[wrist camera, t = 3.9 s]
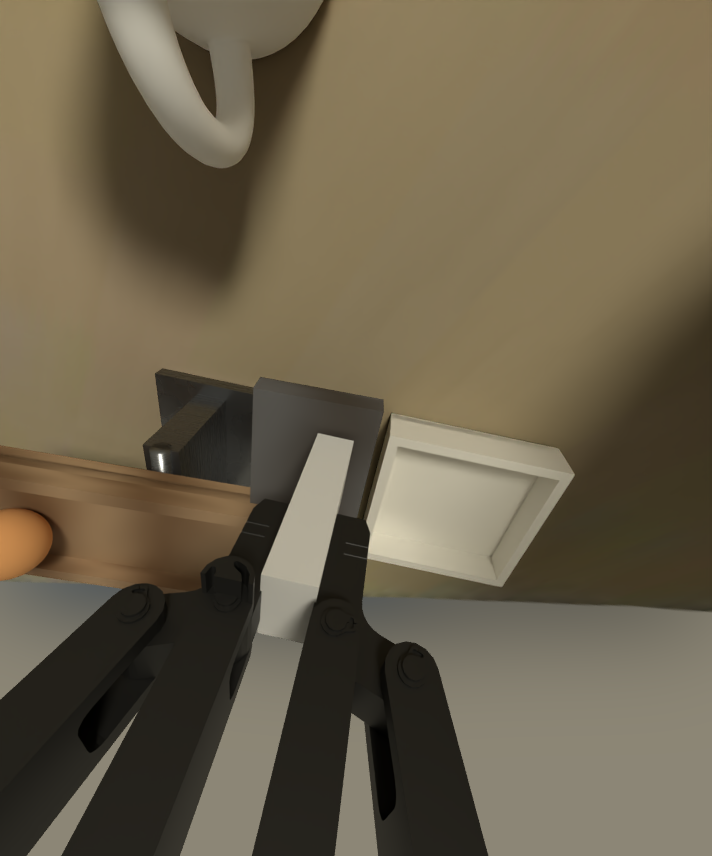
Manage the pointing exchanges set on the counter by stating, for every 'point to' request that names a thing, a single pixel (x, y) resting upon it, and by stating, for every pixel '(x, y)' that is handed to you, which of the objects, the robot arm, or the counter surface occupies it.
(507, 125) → the counter surface
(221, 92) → the mug
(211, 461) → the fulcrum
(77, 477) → the plank
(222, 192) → the counter surface
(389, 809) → the robot arm
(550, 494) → the dish
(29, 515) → the ball
